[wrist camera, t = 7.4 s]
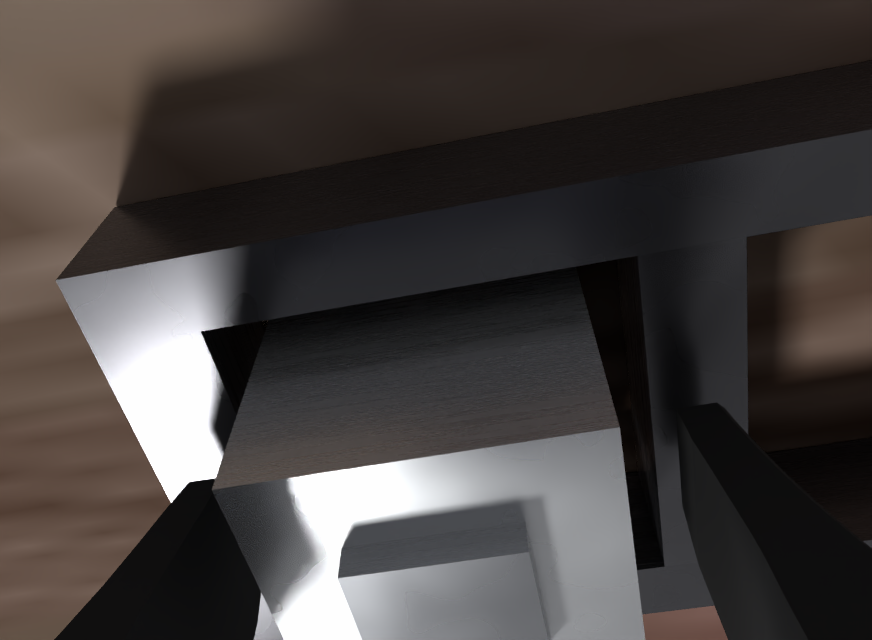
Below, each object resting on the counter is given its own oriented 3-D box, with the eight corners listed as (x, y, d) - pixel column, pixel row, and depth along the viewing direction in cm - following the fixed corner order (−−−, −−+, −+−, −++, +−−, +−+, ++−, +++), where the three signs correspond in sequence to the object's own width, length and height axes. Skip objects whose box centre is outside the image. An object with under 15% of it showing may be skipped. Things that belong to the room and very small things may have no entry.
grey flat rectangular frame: (275, 564, 19) (253, 662, 17) (114, 207, 14) (56, 280, 12) (1130, 447, 17) (1230, 541, 15) (1277, -19, 12) (1455, 21, 10)
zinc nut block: (356, 475, 17) (320, 754, 12) (284, 271, 15) (201, 520, 10) (594, 439, 17) (658, 717, 12) (563, 221, 14) (628, 456, 9)
